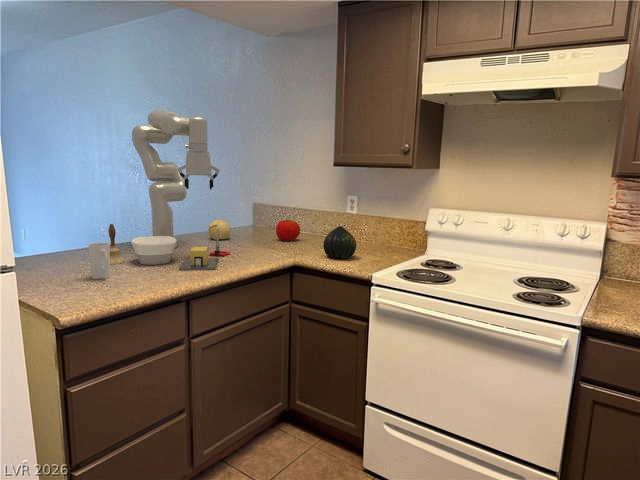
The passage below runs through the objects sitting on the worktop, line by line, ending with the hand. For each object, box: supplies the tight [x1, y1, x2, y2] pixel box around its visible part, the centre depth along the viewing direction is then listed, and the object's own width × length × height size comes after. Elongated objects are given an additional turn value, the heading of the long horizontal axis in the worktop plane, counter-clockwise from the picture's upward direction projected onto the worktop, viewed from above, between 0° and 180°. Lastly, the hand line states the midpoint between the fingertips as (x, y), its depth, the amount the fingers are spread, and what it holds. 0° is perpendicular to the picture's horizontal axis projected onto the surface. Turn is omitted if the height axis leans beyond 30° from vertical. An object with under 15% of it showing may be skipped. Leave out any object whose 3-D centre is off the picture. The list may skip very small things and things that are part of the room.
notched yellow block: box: [190, 246, 209, 265], centre depth 184 cm, size 6×8×6 cm
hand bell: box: [108, 223, 126, 265], centre depth 184 cm, size 8×8×16 cm
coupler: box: [178, 257, 220, 271], centre depth 184 cm, size 14×18×5 cm
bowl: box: [131, 235, 178, 266], centre depth 188 cm, size 18×18×9 cm
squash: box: [322, 225, 357, 260], centre depth 206 cm, size 14×15×15 cm
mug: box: [88, 242, 111, 280], centre depth 160 cm, size 10×7×12 cm, turn 45°
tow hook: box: [209, 228, 231, 257], centre depth 206 cm, size 8×13×9 cm
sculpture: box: [207, 219, 232, 241], centre depth 244 cm, size 12×12×11 cm
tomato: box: [275, 219, 301, 242], centre depth 246 cm, size 12×13×12 cm
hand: (199, 189), depth 191 cm, fingers open, 9 cm apart
